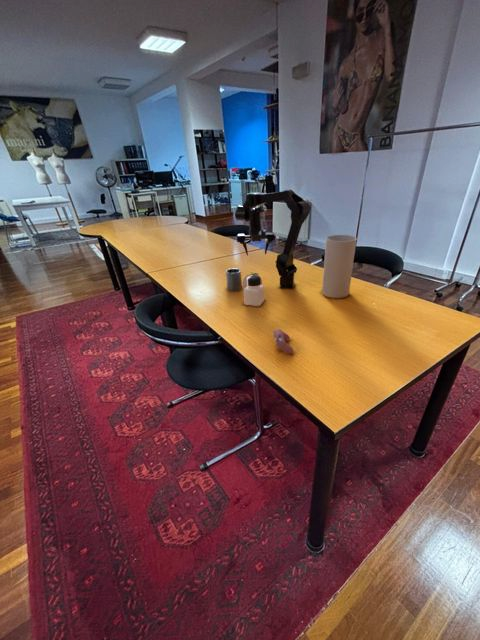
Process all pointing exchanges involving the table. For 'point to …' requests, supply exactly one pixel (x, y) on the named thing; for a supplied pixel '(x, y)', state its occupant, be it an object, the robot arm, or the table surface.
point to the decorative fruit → (246, 279)
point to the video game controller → (282, 341)
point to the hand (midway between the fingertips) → (256, 254)
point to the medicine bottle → (253, 291)
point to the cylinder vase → (338, 265)
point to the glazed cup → (233, 279)
